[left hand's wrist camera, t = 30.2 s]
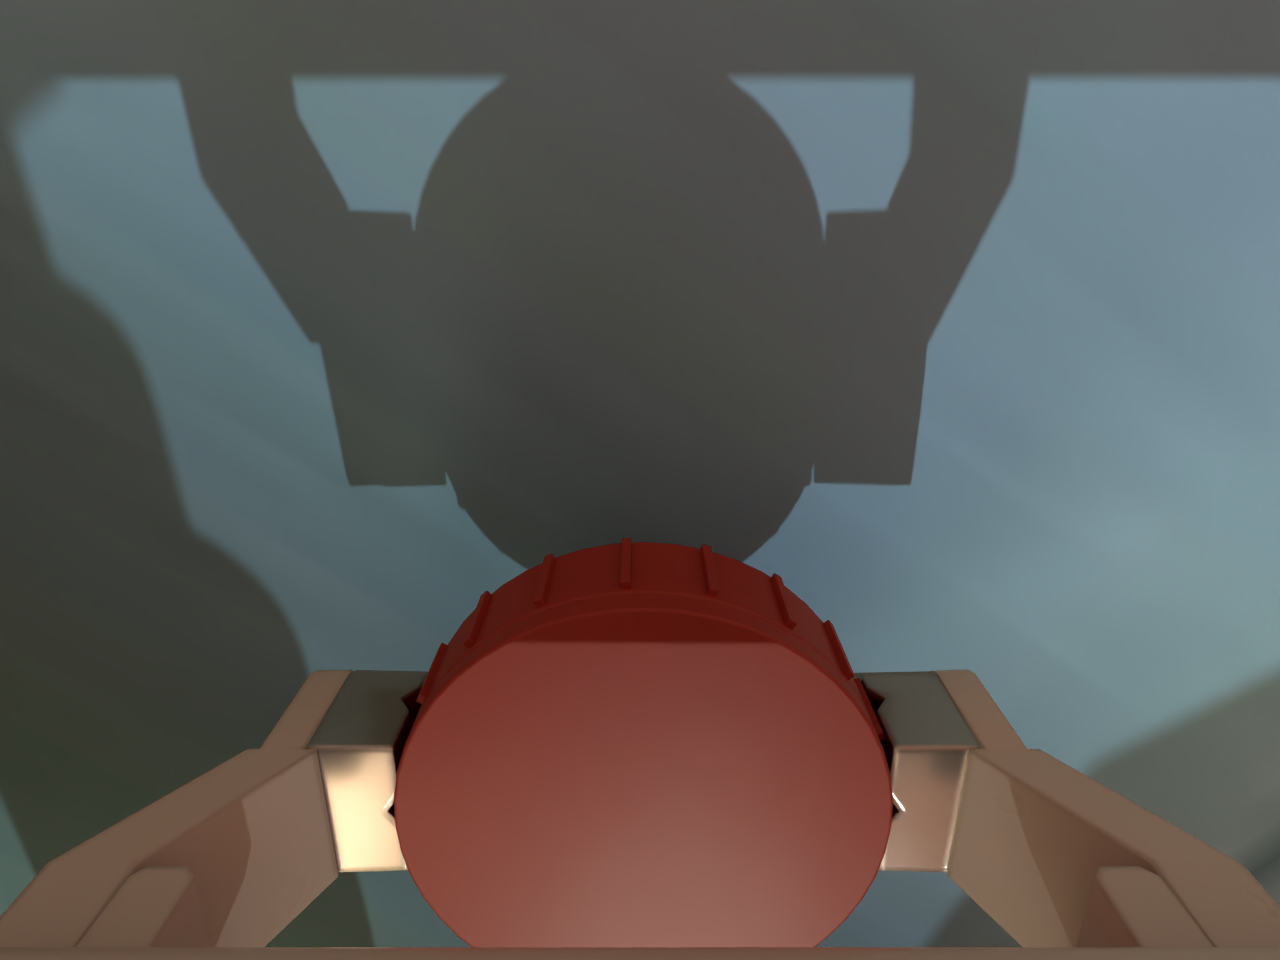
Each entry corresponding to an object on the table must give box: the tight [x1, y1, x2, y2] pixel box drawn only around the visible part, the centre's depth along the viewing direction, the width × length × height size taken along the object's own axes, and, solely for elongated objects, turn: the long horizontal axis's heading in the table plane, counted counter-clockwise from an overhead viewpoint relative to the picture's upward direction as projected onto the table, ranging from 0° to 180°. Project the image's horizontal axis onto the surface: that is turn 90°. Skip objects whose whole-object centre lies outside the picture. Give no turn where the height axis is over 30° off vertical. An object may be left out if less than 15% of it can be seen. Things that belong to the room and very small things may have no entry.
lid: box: [394, 538, 893, 947], centre depth 10 cm, size 6×6×2 cm
